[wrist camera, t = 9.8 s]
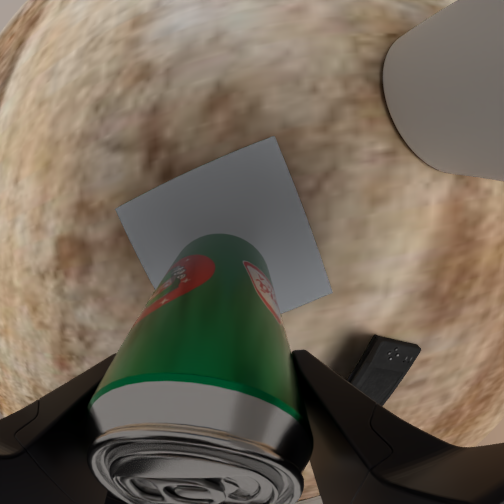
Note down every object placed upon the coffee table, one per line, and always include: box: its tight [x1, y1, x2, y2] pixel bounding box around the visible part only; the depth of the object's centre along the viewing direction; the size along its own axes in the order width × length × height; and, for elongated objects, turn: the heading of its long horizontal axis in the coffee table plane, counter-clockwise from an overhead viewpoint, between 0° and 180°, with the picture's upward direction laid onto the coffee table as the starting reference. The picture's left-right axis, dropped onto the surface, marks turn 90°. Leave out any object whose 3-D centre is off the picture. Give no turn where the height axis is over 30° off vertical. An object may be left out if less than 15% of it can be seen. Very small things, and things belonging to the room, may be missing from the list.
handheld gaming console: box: [347, 335, 421, 406], centre depth 23 cm, size 12×7×10 cm
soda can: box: [86, 234, 314, 504], centre depth 10 cm, size 5×5×12 cm
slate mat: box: [115, 136, 333, 314], centre depth 20 cm, size 12×12×1 cm
